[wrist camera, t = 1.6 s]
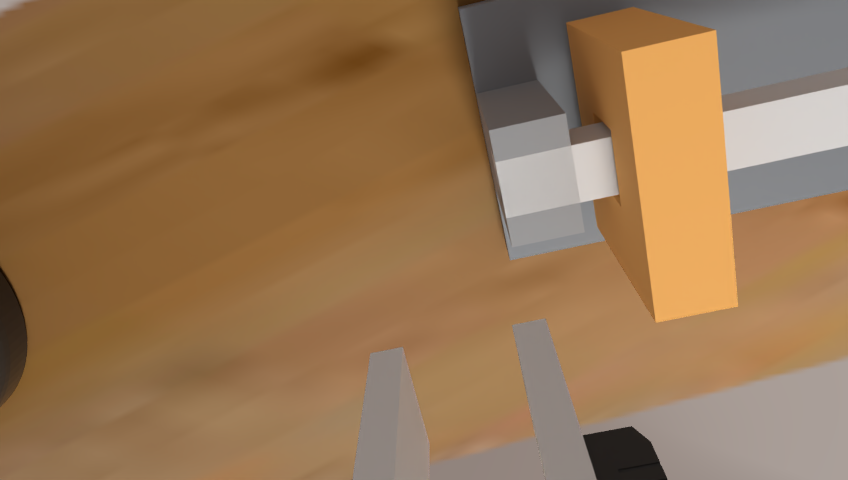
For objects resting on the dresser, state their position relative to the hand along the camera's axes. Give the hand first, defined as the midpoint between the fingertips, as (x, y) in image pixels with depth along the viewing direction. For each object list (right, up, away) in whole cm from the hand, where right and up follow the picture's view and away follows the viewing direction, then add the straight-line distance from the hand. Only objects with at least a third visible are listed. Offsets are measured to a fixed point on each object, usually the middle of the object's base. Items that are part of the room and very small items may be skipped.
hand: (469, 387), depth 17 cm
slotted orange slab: (+8, +9, +17) cm, 21 cm away
